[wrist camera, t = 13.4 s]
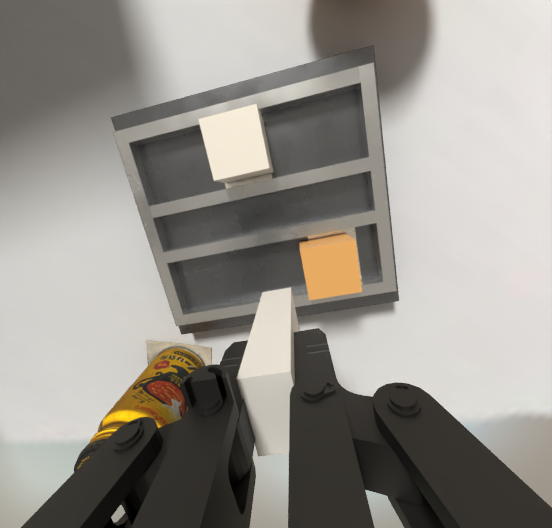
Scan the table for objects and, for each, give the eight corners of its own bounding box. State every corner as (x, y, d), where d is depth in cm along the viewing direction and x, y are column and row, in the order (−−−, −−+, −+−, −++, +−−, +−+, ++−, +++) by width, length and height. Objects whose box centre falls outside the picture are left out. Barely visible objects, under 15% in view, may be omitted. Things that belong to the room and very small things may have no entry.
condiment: (211, 346, 28) (153, 450, 17) (210, 409, 31) (157, 540, 19) (147, 338, 29) (46, 435, 17) (150, 401, 31) (63, 525, 19)
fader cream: (226, 183, 21) (213, 180, 18) (214, 131, 21) (198, 119, 17) (273, 172, 21) (269, 168, 18) (263, 119, 20) (256, 103, 17)
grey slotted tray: (189, 324, 28) (176, 340, 25) (126, 124, 23) (100, 113, 20) (391, 292, 25) (404, 306, 22) (366, 59, 20) (378, 35, 17)
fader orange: (307, 285, 23) (309, 300, 20) (299, 242, 22) (299, 250, 19) (352, 277, 23) (362, 291, 19) (346, 233, 22) (355, 239, 18)
